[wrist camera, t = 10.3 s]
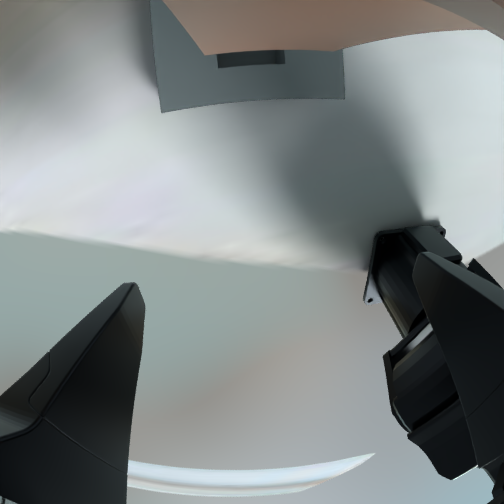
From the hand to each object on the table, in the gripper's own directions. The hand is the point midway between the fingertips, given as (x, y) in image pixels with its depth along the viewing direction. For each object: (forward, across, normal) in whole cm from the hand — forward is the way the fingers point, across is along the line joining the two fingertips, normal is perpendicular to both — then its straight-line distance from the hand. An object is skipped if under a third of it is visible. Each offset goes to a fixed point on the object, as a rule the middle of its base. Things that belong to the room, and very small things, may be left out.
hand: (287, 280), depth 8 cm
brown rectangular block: (+4, 0, -8) cm, 9 cm away
